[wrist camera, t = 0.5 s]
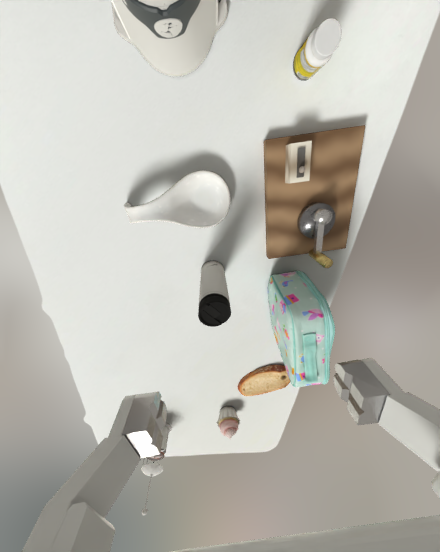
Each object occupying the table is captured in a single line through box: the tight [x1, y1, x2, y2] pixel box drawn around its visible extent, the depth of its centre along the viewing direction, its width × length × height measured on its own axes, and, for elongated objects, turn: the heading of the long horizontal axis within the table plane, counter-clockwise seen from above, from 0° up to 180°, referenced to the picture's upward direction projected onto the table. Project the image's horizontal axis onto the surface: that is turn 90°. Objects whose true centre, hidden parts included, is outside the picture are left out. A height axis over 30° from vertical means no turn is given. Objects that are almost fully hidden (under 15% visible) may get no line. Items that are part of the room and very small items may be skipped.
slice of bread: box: [238, 365, 290, 396], centre depth 76 cm, size 18×18×4 cm
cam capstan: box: [297, 202, 335, 268], centre depth 46 cm, size 13×8×8 cm, turn 7°
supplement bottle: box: [293, 18, 342, 81], centre depth 34 cm, size 5×5×8 cm
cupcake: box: [217, 407, 240, 439], centre depth 80 cm, size 9×9×10 cm
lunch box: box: [268, 271, 335, 387], centre depth 52 cm, size 27×10×21 cm, turn 13°
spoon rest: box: [124, 170, 230, 228], centre depth 44 cm, size 24×12×7 cm, turn 101°
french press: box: [141, 423, 171, 515], centre depth 77 cm, size 10×12×25 cm
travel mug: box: [198, 261, 231, 326], centre depth 46 cm, size 6×7×20 cm
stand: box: [264, 125, 365, 259], centre depth 45 cm, size 26×20×6 cm
